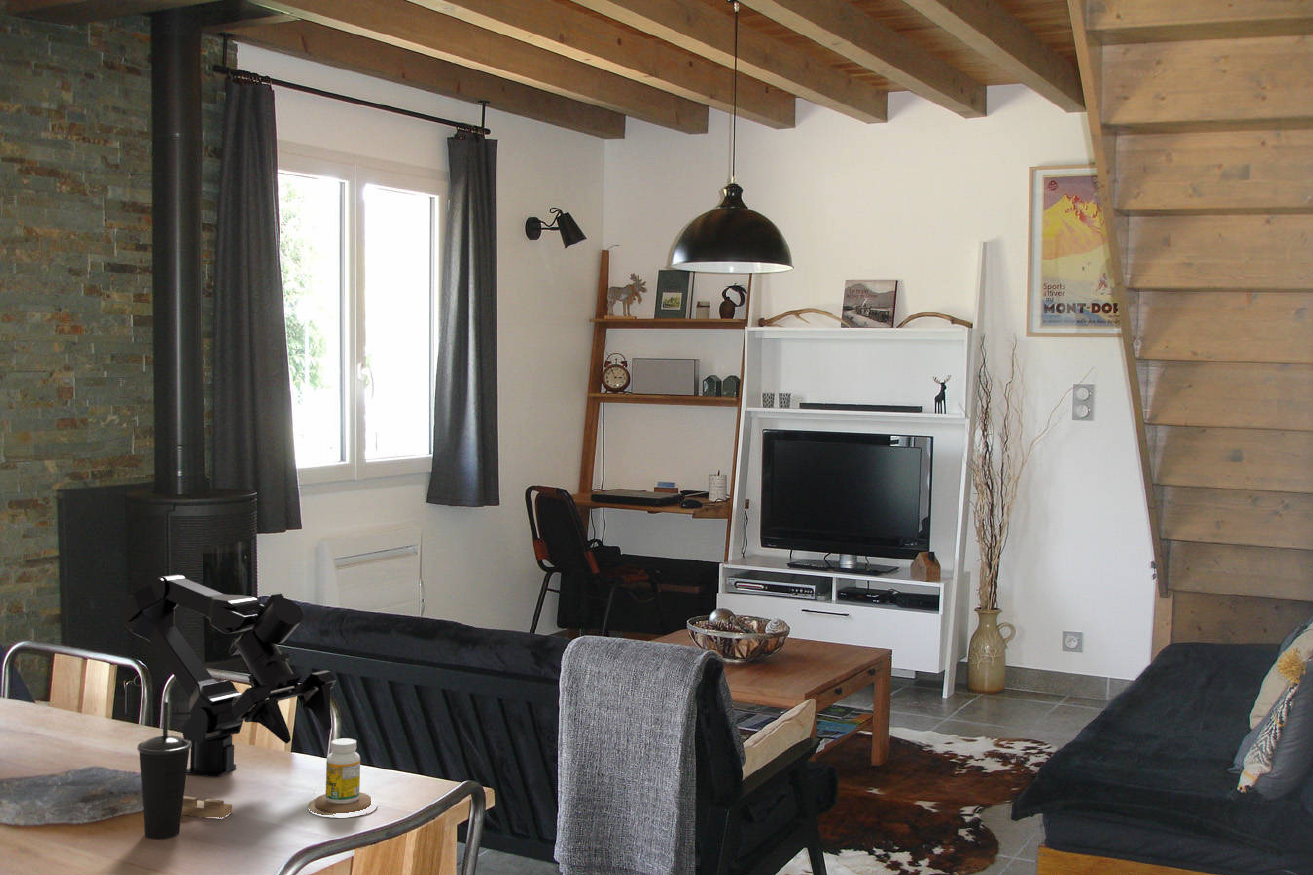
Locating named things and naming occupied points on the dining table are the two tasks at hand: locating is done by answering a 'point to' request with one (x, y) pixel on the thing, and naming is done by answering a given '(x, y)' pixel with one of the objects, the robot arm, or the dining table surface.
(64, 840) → the dining table surface
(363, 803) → the base
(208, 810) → the notched board
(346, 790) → the supplement bottle
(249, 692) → the robot arm
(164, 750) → the drinking cup
